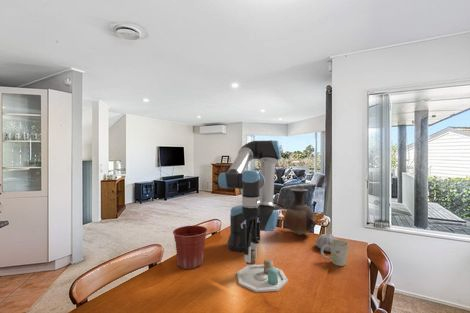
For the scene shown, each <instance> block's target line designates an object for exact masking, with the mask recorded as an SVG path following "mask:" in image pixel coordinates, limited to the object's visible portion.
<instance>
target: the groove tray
mask: <svg viewBox="0 0 470 313" xmlns="http://www.w3.org/2000/svg"><path fill="white" fill-rule="evenodd" d="M273 268H276V269H277V270H278V284H277V285H270V284H269V283H268V275H267V274H265V273H264V263H263V264H253V265H249V264H247V265H246V266H244V267H243V268H241V269H240V270H238V271H236V277H237V282H238V285H239V286H242V287H244V288H246V289H248V290H251V291H252V292H255V293H266V292H267V293H268V292H278V291H280V290H281V289H282V288H283V287H284V285H286V284H287V283H288V282H289V279H288V278H287V276H286V274H285V273H284V271H283V269H280V268H278V267H275V266H273Z"/></svg>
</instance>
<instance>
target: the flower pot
mask: <svg viewBox="0 0 470 313" xmlns="http://www.w3.org/2000/svg"><path fill="white" fill-rule="evenodd" d="M207 232H208V228H207V227H205V226H202V225H184V226H179V227H176V228H175V229H174V230H173V231H172V234H173V235H174V236H173V237H174V242H175V251H176V258H177V260H176V261H177V266H178V267H180V268H181V269H184V270H191V269H192V270H193V269H196V268H197V267H201V266H202V265H203V263H204V257H205V245H206V239H207Z"/></svg>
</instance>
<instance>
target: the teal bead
mask: <svg viewBox="0 0 470 313" xmlns="http://www.w3.org/2000/svg"><path fill="white" fill-rule="evenodd" d="M276 268H277V267H275V268H269V269H268V283H269V284H270V285H277V284H278V270H277V269H276Z"/></svg>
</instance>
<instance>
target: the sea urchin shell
mask: <svg viewBox="0 0 470 313" xmlns="http://www.w3.org/2000/svg"><path fill="white" fill-rule="evenodd" d="M331 240H339V239H338V238H337V236H335V235H333V234H331V233H323V234H320V235H319V236H318V237H317V238H316V240H315V245H316V247H317V248H318V249H319V250H321V248H322V247H323V246H324V245H330V241H331ZM323 252H329V253H331V248H328V247H326V248H325V249H324V250H323Z"/></svg>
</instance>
